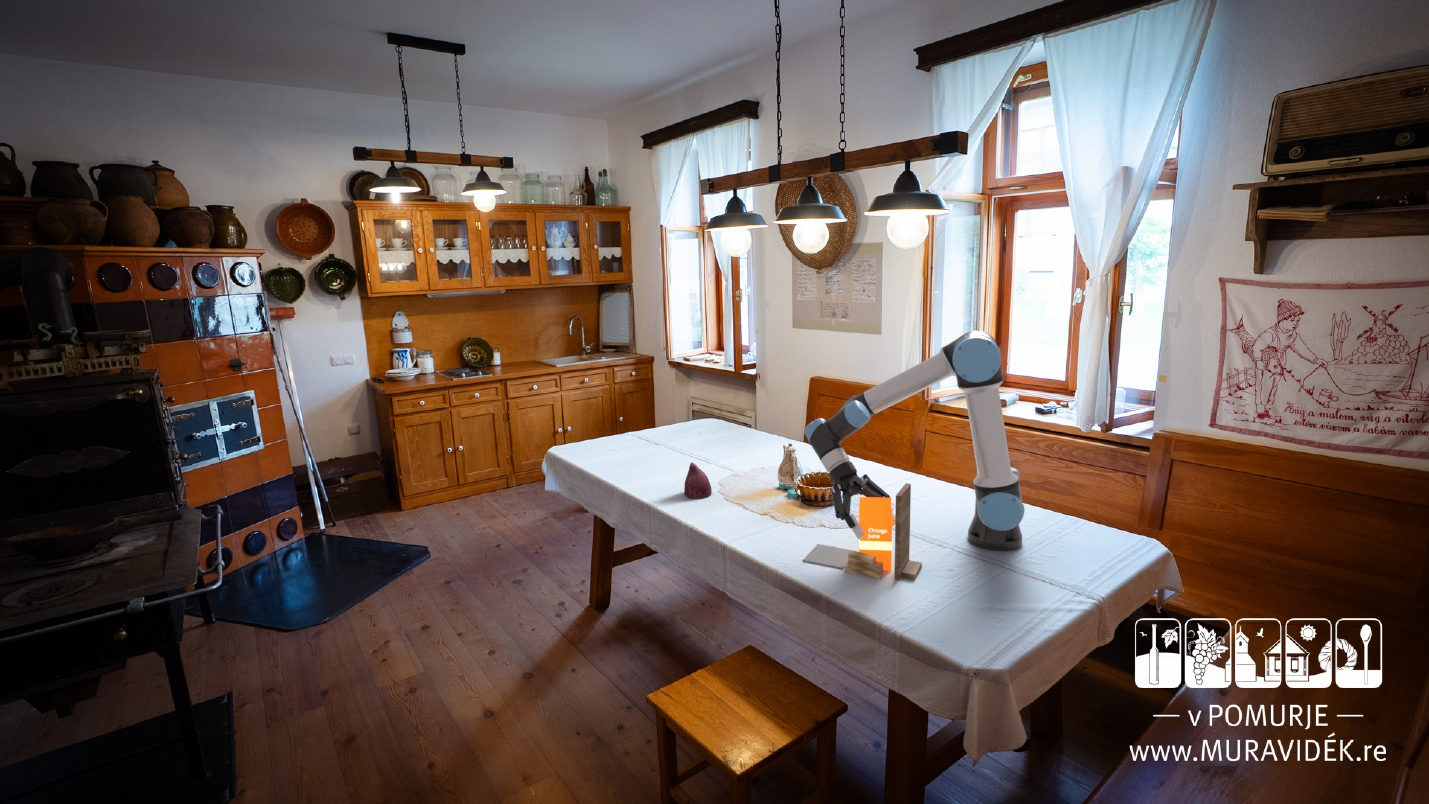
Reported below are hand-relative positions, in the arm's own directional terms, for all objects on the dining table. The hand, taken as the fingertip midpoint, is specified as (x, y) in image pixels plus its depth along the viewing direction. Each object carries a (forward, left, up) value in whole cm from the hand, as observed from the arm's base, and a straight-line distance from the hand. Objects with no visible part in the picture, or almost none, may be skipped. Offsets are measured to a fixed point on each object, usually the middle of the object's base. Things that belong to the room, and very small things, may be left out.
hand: (878, 530), depth 186 cm
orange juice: (+1, -1, -11) cm, 11 cm away
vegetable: (+77, -30, -11) cm, 84 cm away
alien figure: (+38, -49, -11) cm, 63 cm away
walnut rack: (-2, +2, -11) cm, 11 cm away
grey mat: (+14, 0, -11) cm, 18 cm away
